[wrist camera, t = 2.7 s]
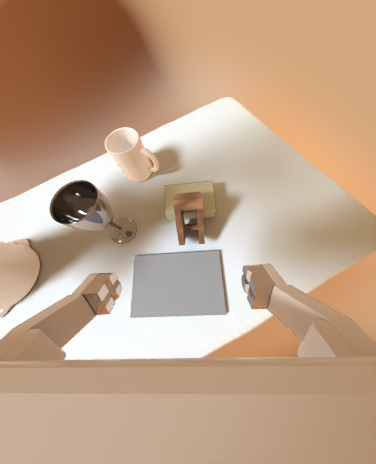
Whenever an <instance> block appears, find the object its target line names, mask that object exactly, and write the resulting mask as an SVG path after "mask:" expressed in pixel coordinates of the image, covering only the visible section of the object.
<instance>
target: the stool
mask: <svg viewBox="0 0 376 464" xmlns="http://www.w3.org/2000/svg"><path fill="white" fill-rule="evenodd" d="M172 201H173V208H174V212H175V219H176V226H177V232H178V239H179V245H185V238H186V231H185V230H198V237H199V244H205V241H204V220H203V198H202V194H201V191H200V192H190V193H179V194H176V195H175V196H174V198H173V200H172ZM193 209H197V224H186V225H185V223H184V214H183V210H193Z"/></svg>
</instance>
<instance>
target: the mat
mask: <svg viewBox="0 0 376 464" xmlns="http://www.w3.org/2000/svg"><path fill="white" fill-rule="evenodd" d="M197 315H226V306H225V298H224V289H223V281H222V273H221V264H220V256H219V251H203V252H187V253H171V254H155V255H139V256H135V261H134V275H133V289H132V302H131V316H130V318H132V317H164V316H197Z"/></svg>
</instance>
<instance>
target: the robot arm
mask: <svg viewBox="0 0 376 464" xmlns="http://www.w3.org/2000/svg"><path fill="white" fill-rule="evenodd" d="M39 269H40V261H39V257H38V255H37V254H36V252H35V251H34V250H32V249H31V248H30V245H29V242H28V240H25V239H19V240H15V241H12V242H8V243H5V242H0V318H1V317H3V316H4V315H5V314H6V313H7V311H8V310H9V309H10V308H11V307H12V306H13V305H14V304H16V303H17V302H18V301H20V300H21V299H22V298H24V297H25V296H26V295H27V294H28V292H29V291H30V290H31V288H32V287H33V285H34V284H35V282H36V280H37V277H38V274H39ZM243 273H244V274H243V275H242V286H243V289H244V292H246V293H247V294H248V296H247V299H248V301H249V304H250V306H251V309H268V311H269V312H271V313H272V314H273V315H274V316H275V317H276V318H277V319H278V320H279V321H280V322H282V324H284V325H285V326H286V327H287V328H288V329H289V330H290V331H291V332H292V333H293V334H294V335H295V336H297V337H298V338H299V339H300V340H301V341H302V344H301V345H300V347H299V349H298V352H297V354H298V356H299V357H272V358H271V357H268V358H180V359H94V360H64V358H65V357H66V353H65V352H64V351H63V350H62V349H61V348H62V347H63V346H64V345H65V344H66V343H67V342H68V341H70V340H71V339H72V338H73V337H74V336H75V335H76V334H77V333H78V332H79V331H80V330H81V329H82V328H83V327H84V326H86V325H87V324H88V323H89V322H90V321H91V320H92V319H93V318H94V317H95V316H96V315H103V314H110V312H111V311H112V309H113V307H114V305H115V300H116V299H117V298H118V297H119V296H120V294H121V290H122V286H121V283H120V282H119V281H118V280H117V278H118V276H117V274H116V273H99V274H91V275H89V276H88V277H87V278H86V279H85V280H84V282H83V283H82V284H81V285H80V286H79V287H78V288H77V289H76V290H75V291H74V292H73V293H72V295H68V296H66V297H65V298H63V299H61V300H60V301H58V302H56V303H55V304H53V305H51V306H50V307H48V308H46V309H45V310H43V311H41V312H40V313H38V314H36V315H35V316H33V317H31V318H30V319H28V320H26V321H25V322H23V323H21V324H20V325H18V326H16V327H15V328H13V329H12V330H11V331H10V332H9V333H8V334H6V335H5V336H4V337H3V338H2V339H1V340H0V464H376V343H375V342H374V341H373V340H372V339H371V338H370V337H369V336H368V335H367V334H366V333H365V332H364V331H363V330H362V329H361V328H360V327H359V326H358V325H357V324H356V323H355V322H354V321H353V320H352V319H350V318H349V317H347V316H345V315H343V314H341V313H340V312H338V311H336V310H334V309H333V308H331V307H329V306H327V305H325V304H323V303H322V302H320V301H318V300H316V299H315V298H313V297H311V296H309V295H308V294H306V293H304V292H302V291H300V290H299V289H297V288H295V287H293V286H292V285H287V284H286V282H285V281H284V280H283V279H282V277H281V276H280V275H279V274H278V272H277V271H276V270H275V269H274V267H273V266H272V265H271V264H261V265H260V264H259V265H244V266H243Z"/></svg>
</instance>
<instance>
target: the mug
mask: <svg viewBox="0 0 376 464" xmlns="http://www.w3.org/2000/svg"><path fill="white" fill-rule="evenodd" d="M105 148H106V150H107V151H108V152H109V154H110V155H111V156H112V158H113V159H114V160H115V162H116V163H117V164H118V166H119V167H120V168H121V170H122V171H123V173H124V174H125V175H126V176H127V178H128V179H129V180H131V181H133V182H142V181H144V180H146V179H147V178H149V176H150V175H151V173H152V172H156V171H157V170H158V169H159V162H158V159H157V158H156V156H155V155H154V154H153V153H152V152H151V151H149V150H148V149H146V148H144V146H143V144H142V142H141V139H140V137H139V135H138V133H137V132H136V131H135V130H134V129H132V128H127V127H125V128H120V129H117V130H115V131H113V132H112V133H110V134H109V135H108V137H107V138H106V140H105ZM148 157H149V158H150V159H151V160H152V161H153V163H154V167H152V165H151V162H150V160H149V158H148Z"/></svg>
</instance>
